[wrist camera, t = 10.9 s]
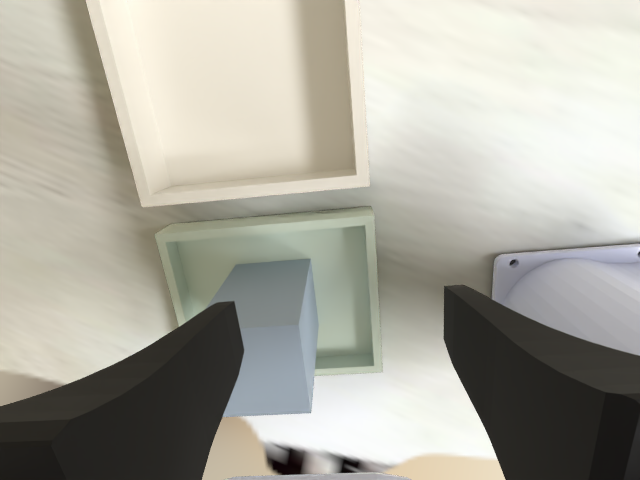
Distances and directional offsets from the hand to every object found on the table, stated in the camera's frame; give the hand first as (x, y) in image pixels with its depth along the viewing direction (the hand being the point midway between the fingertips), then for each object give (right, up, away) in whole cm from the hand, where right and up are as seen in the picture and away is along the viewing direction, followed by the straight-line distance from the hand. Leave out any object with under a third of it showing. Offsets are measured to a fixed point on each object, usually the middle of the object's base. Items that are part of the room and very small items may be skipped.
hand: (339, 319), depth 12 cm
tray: (-3, -1, +10) cm, 11 cm away
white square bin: (-4, +11, +6) cm, 14 cm away
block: (-3, -1, +9) cm, 10 cm away
